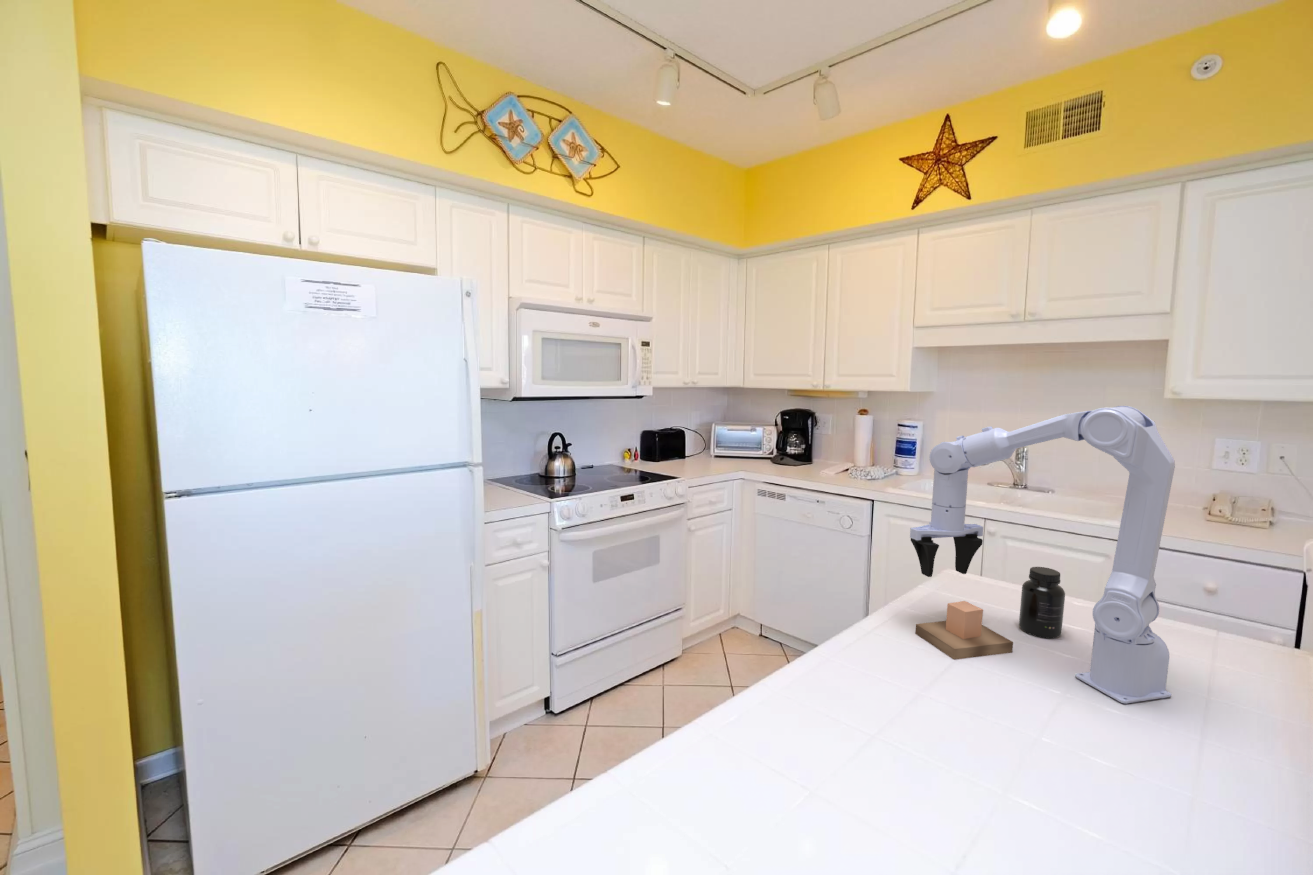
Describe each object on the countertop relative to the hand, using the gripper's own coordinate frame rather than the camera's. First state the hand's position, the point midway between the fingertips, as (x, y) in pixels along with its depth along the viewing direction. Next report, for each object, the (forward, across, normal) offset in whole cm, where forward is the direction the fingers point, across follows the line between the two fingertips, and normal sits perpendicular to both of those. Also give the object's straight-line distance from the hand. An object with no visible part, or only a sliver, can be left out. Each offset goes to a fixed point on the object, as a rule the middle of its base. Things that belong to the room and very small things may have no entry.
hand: (943, 573), depth 111 cm
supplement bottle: (+11, -17, +6) cm, 21 cm away
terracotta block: (+8, +1, +7) cm, 11 cm away
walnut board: (+11, +1, +7) cm, 13 cm away
